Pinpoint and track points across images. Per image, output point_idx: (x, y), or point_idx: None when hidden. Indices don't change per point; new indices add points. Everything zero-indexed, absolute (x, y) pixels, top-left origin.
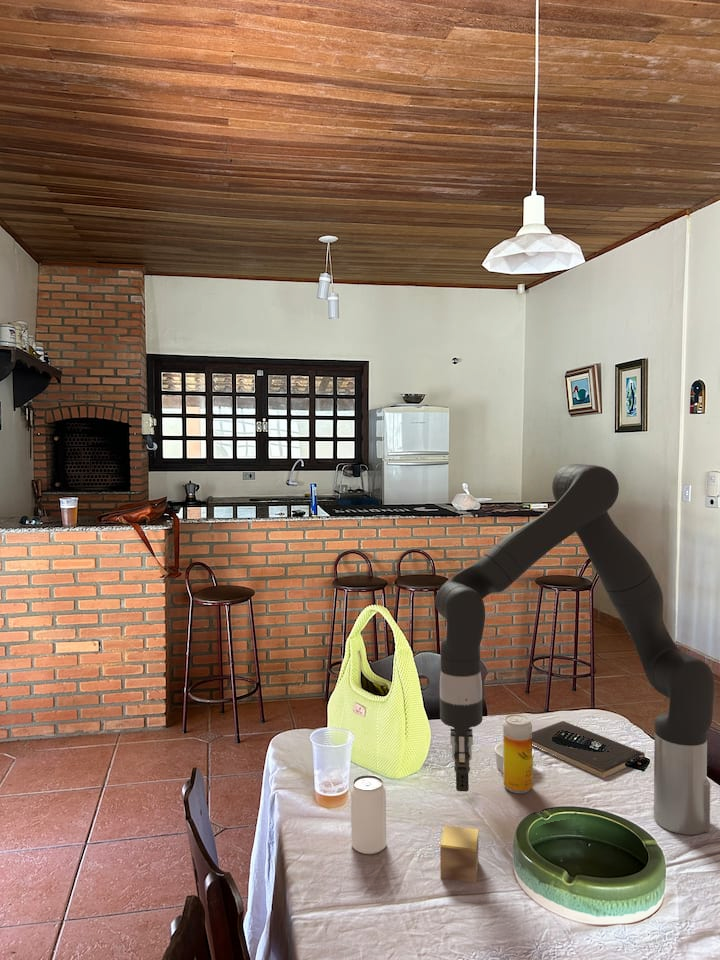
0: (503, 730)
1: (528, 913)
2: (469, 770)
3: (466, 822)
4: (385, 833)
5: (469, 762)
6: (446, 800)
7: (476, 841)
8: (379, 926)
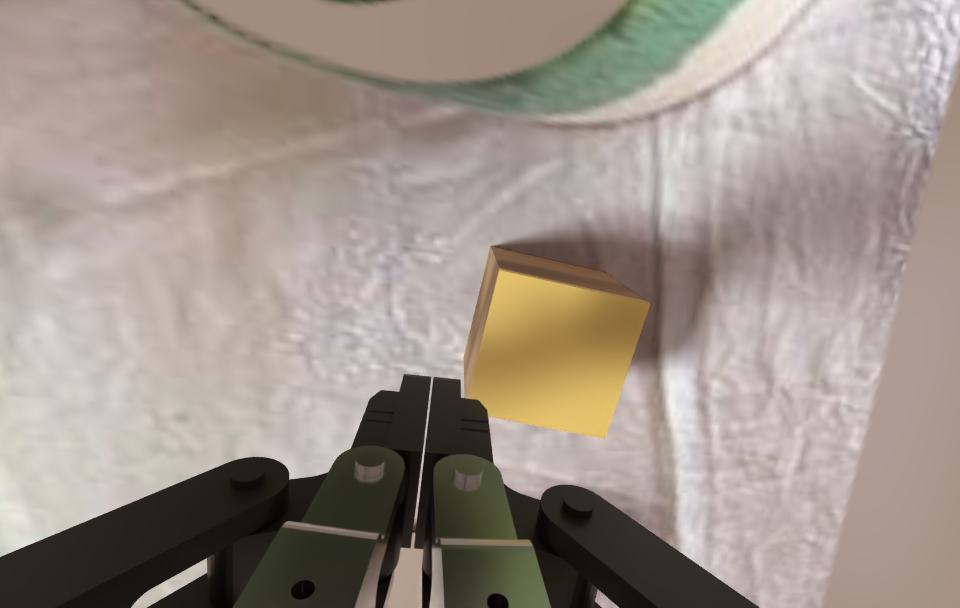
0: None
1: (776, 124)
2: (590, 500)
3: (229, 253)
4: (411, 566)
5: (371, 467)
6: (66, 313)
7: (596, 293)
8: (755, 539)
